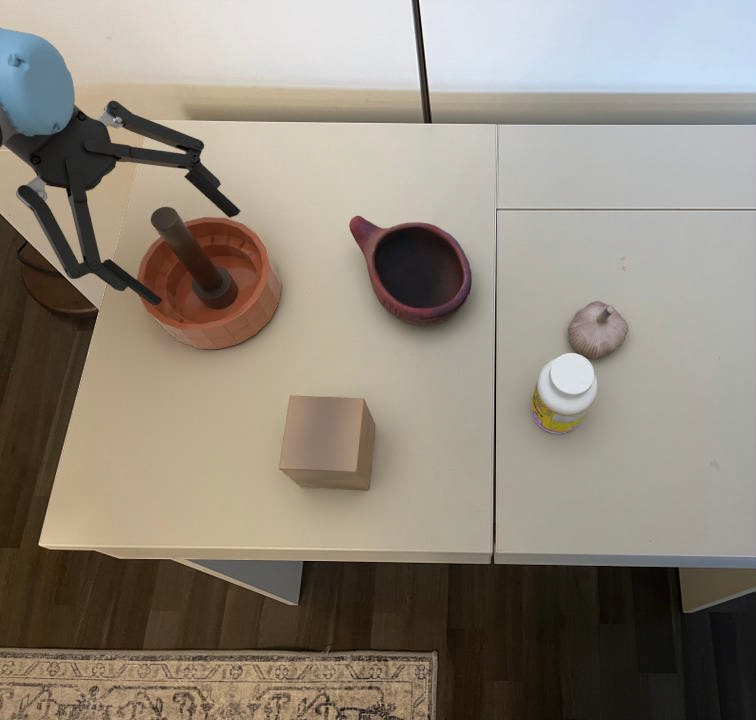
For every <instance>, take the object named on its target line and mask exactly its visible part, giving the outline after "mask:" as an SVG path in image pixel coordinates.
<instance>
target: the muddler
mask: <svg viewBox="0 0 756 720" xmlns="http://www.w3.org/2000/svg"><path fill="white" fill-rule="evenodd" d="M184 222H185V221H184V220H183V219H182V217H181V216H180V215H179V213H178V211H177V210H176V209H175V208H173V207H170V206H161V207H159V208H157V209H155V211H153V213H152V214H151V215H150V224H151V226H152V227H153V228H154V229H155V230H156V232H157V233H158V234H159V236H161V237H162V238H163V239H164V241H165V242H166V243H167V244H168V246H169V247H170V248H171V250H172V251H173V252H174V253H175V255H176V256H177V257H178V259H179V260H180V261H181V262H182V264H183V265H184V266H185V268H186V269H187V270H188V271H189V273H190V274H191V275H192V277H193V280H192V289H193V291H194V293H195V294H196V295H197V296H198V298H199V299H200V300H201V301H202V303H203V304H204V305H205V306H206V307H208V308H210V309H216V310H218V309H224V308H226V307H228V306H230V305H231V304H232V303H233V302H234V301H235V300H236V298H237V295H238V287H237V284H236V283H235V281H234V280H233V278H232V277H231V275H230V274H229V272H228V271H227V270H226V269H225V268H223V267H221V266H216V265H213V264H212V262H211V261H210V259H209V258H208V256H207V255H206V253H205V252H204V251H203V249H202V248H201V246H200V245H199V243H198V242H197V240H196V239H195V238H194V236H193V235H192V233H191V232H190V230H189V229H188V227H187V226H186V225H185V223H184Z"/></svg>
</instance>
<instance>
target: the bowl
mask: <svg viewBox="0 0 756 720" xmlns="http://www.w3.org/2000/svg"><path fill="white" fill-rule="evenodd" d="M348 227H349V231H350V233H351V235H352V237H353V239H354V242H355V243H356V245H357V246H358V247H359V249H360V251H361V253H362V254H363V257H364V259H365V262H366V267H367V271H368V276H369V281H370V283H371V286H372V290H373V292H374V294H375V296H376V298H377V300H378V301H379V303H380V305H381V306H382V308H384V309H385V310H386V311H387V312H388V313H389V314H390V315H392V316H393V317H395V318H396V319H398V320H401V321H403V322H406V323H409V324H412V325H421V326H424V325H425V326H429V325H435V324H439V323H441V322H445V320H447V319H449V318H451V317H453V315H455V314H456V313H457V312H458V311H460V310H461V308H462V307H463V306H464V305H465V303H466V302H467V300H468V299H469V296H470V293H471V289H472V283H473V279H472V278H473V277H472V276H473V275H472V273H473V272H472V268H471V265H470V264H471V263H470V262H469V259H468V257H467V255H466V252H465V251H464V249H463V248H462V246H461V245H460V243H459V241H458V240H457V238H455V237H454V236H453V235H452V234H450V233H449V232H447V231H445V230H444V229H442V228H441V227H439V226H437V225H435V224H432V223H429V222H421V221H419V222H417V221H416V222H415V221H412V222H411V221H410V222H403V223H399V224H396V225H393V226H390V227H386V228H385V227H380V226H378V225H376V224H374V223H373V222H371V221H369V220H368V219H366V218H365V217H363V216H361V215H355V216H354V217H353V216H352V218H351V219H350V221H349V224H348Z"/></svg>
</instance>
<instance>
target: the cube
mask: <svg viewBox="0 0 756 720" xmlns="http://www.w3.org/2000/svg"><path fill="white" fill-rule="evenodd" d="M286 412H287V413H286V420H285V425H284V431H283V437H282V438H283V439H282V445H281V449H280V451H281V452H280V457H279V463H278V469H279V470H280V471H281V472H282V473H283V474H284V475H285V476H287V477H288V478H289V479H290V480H292V482H294V483H295V484H296V485H298V486H299V487H300V488H302V489H325V490H349V491H351V490H352V491H370V486H371V476H372V466H373V456H374V447H375V446H374V445H375V436H376V423H375V420H374V418H373V416H372V413H371V411H370V409H369V406H368V405H367V402H366V400H365V398H362V397H361V398H360V397H339V396H338V397H336V396H315V395H314V396H313V395H292V394H291V395H289V397H288V405H287V411H286Z"/></svg>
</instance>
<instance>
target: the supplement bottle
mask: <svg viewBox="0 0 756 720" xmlns="http://www.w3.org/2000/svg"><path fill="white" fill-rule="evenodd" d="M597 379H598V378H597V376H596V373H595V369H594V366H593V364H592V362H590V360H588V359H587V358H586V357H585V355H582V354H579V353H577V352H576V353H575V352H567V353H563V354H561V355H558V357H555V358H552V359H551V360H550V361H548V362H547V363H546V364H545V365H544V366H543V367H542V369H541V370H540V372H539V374H538V377H537V381H536V384H535V387H534V390H533V392H532V396H531V401H530V413H531V416H532V419H533V420H534V422H535V423H536V425H538V426H539V428H541V429H542V430H543V431H546V432H548V433H551V434H555V435H559V434H560V435H561V434H566V433H569V432H571V431H573V430H575V428H577V427H578V426H579V424H580V423H581V422H582V421H583V419H584V417H585V416H586V414H587V412H588V410H589V408H590V407H591V405H592V404H593V402H594V401H595V398H596V396H597V392H598V380H597Z"/></svg>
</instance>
